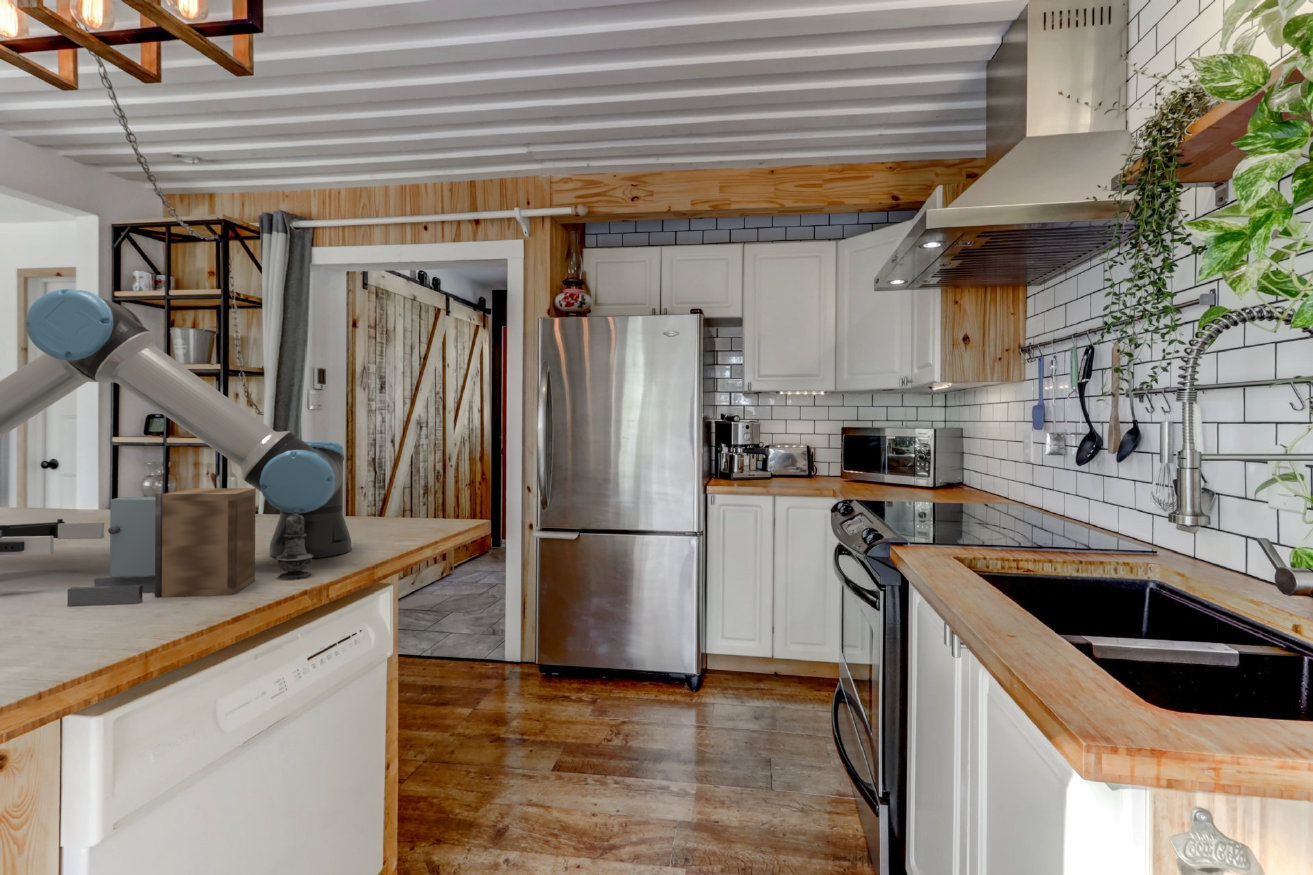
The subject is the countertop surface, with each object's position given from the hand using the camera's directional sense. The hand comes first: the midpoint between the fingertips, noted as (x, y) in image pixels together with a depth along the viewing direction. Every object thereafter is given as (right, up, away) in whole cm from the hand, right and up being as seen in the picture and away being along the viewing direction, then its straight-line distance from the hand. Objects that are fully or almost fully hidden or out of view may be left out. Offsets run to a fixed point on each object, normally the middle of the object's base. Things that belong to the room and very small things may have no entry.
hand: (79, 537), depth 108 cm
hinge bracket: (+14, -8, -9) cm, 18 cm away
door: (+9, -8, +2) cm, 12 cm away
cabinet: (+23, -8, -2) cm, 25 cm away
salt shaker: (+32, -8, +7) cm, 34 cm away
